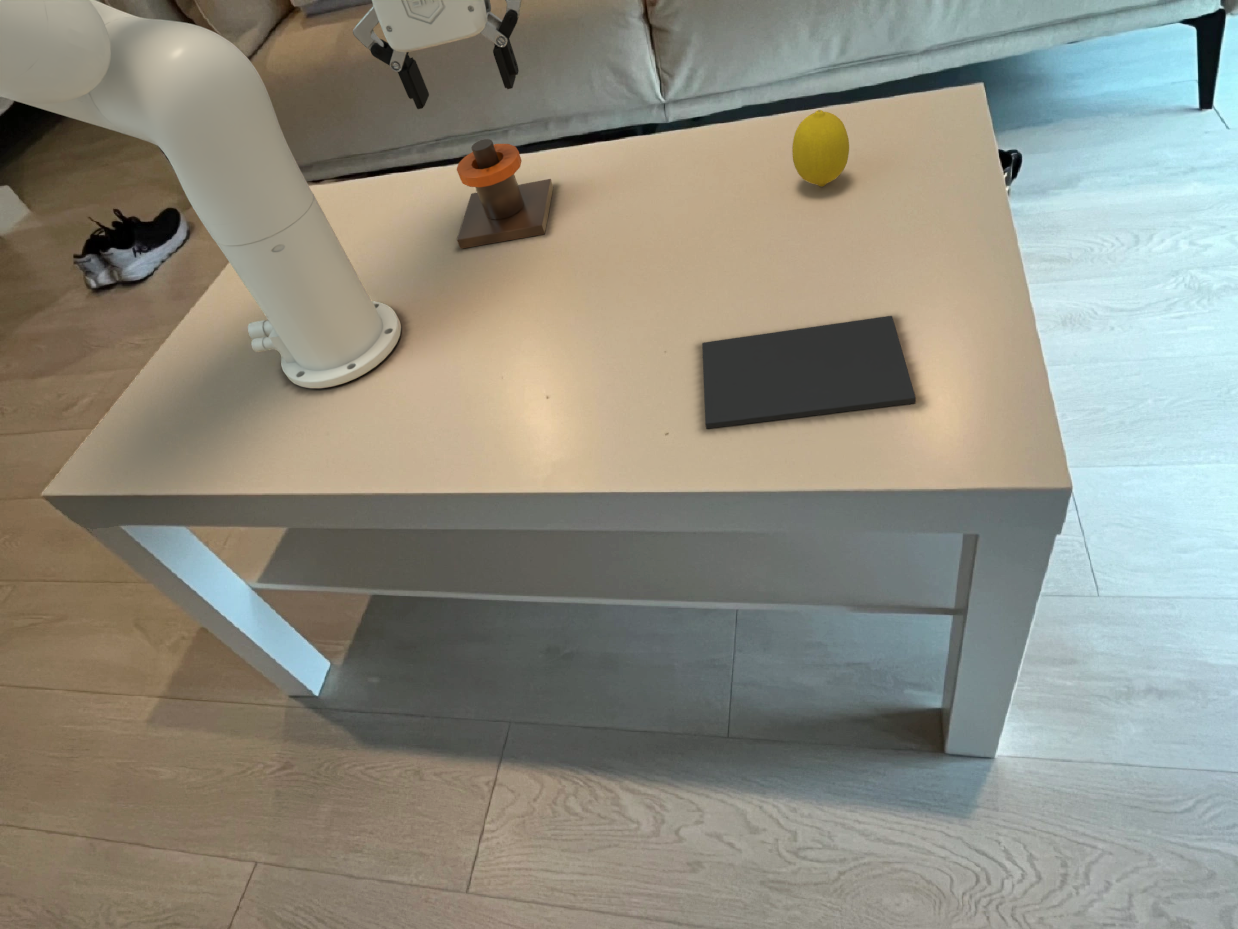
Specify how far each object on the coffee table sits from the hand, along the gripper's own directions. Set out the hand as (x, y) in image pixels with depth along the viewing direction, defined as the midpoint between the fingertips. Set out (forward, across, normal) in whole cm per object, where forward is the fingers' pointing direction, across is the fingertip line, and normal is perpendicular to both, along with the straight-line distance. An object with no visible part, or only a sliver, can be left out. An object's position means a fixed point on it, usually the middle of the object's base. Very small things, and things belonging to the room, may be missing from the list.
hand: (466, 92), depth 84 cm
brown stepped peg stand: (+14, 0, 0) cm, 15 cm away
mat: (+14, +30, -33) cm, 47 cm away
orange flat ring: (+8, 0, 0) cm, 9 cm away
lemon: (+15, +34, -5) cm, 38 cm away
